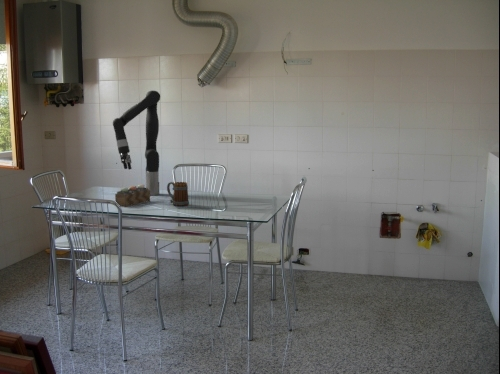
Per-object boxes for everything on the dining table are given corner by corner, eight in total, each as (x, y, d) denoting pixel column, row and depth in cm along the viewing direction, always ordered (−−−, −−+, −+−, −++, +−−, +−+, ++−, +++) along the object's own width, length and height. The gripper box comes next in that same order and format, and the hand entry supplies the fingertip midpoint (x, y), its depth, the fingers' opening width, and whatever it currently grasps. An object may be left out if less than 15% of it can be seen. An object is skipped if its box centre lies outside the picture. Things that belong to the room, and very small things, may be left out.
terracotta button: (132, 188, 335) (132, 185, 335) (137, 189, 333) (137, 186, 333) (127, 189, 331) (127, 186, 331) (133, 190, 329) (133, 187, 329)
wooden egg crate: (140, 199, 346) (140, 186, 345) (150, 201, 342) (149, 188, 340) (115, 205, 325) (115, 191, 324) (125, 206, 321) (124, 193, 320)
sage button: (124, 190, 328) (124, 187, 328) (129, 191, 326) (129, 188, 326) (119, 191, 325) (119, 188, 324) (124, 192, 322) (124, 189, 322)
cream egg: (140, 187, 342) (140, 184, 342) (146, 187, 340) (146, 185, 340) (136, 188, 338) (136, 185, 338) (141, 188, 336) (141, 185, 336)
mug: (191, 204, 333) (191, 182, 331) (183, 207, 323) (183, 184, 321) (172, 202, 339) (172, 180, 337) (163, 204, 330) (163, 182, 328)
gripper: (124, 144, 342) (129, 167, 342) (131, 146, 356) (136, 168, 356) (114, 147, 343) (119, 170, 342) (121, 148, 357) (126, 170, 357)
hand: (128, 169), depth 349 cm, fingers open, 8 cm apart
